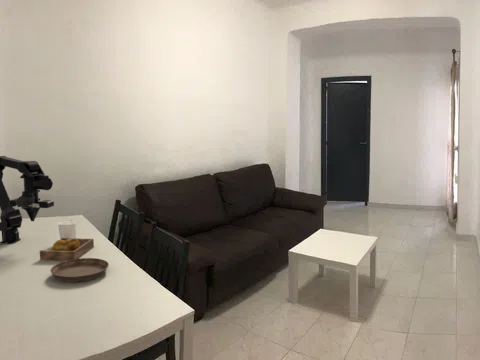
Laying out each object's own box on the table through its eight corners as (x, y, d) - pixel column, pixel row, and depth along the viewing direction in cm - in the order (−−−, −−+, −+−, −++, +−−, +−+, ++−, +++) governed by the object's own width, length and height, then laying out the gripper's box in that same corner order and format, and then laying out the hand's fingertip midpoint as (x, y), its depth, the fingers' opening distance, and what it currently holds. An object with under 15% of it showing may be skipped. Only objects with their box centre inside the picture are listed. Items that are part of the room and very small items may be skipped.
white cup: (72, 245, 184) (71, 225, 183) (56, 245, 184) (55, 224, 183) (80, 240, 192) (79, 220, 190) (64, 240, 192) (63, 220, 191)
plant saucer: (91, 261, 164) (91, 253, 164) (119, 273, 151) (119, 265, 150) (41, 275, 148) (40, 266, 148) (67, 290, 135) (66, 281, 135)
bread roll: (46, 259, 166) (45, 240, 164) (53, 251, 175) (52, 234, 174) (78, 257, 168) (77, 239, 167) (83, 250, 177) (82, 233, 176)
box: (40, 260, 164) (39, 251, 163) (62, 246, 183) (61, 238, 182) (75, 261, 163) (74, 251, 163) (93, 247, 182) (93, 238, 182)
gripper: (-1, 190, 173) (2, 224, 175) (40, 192, 171) (41, 226, 174) (16, 186, 184) (17, 218, 186) (54, 188, 182) (55, 220, 185)
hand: (32, 221), depth 182 cm, fingers closed
